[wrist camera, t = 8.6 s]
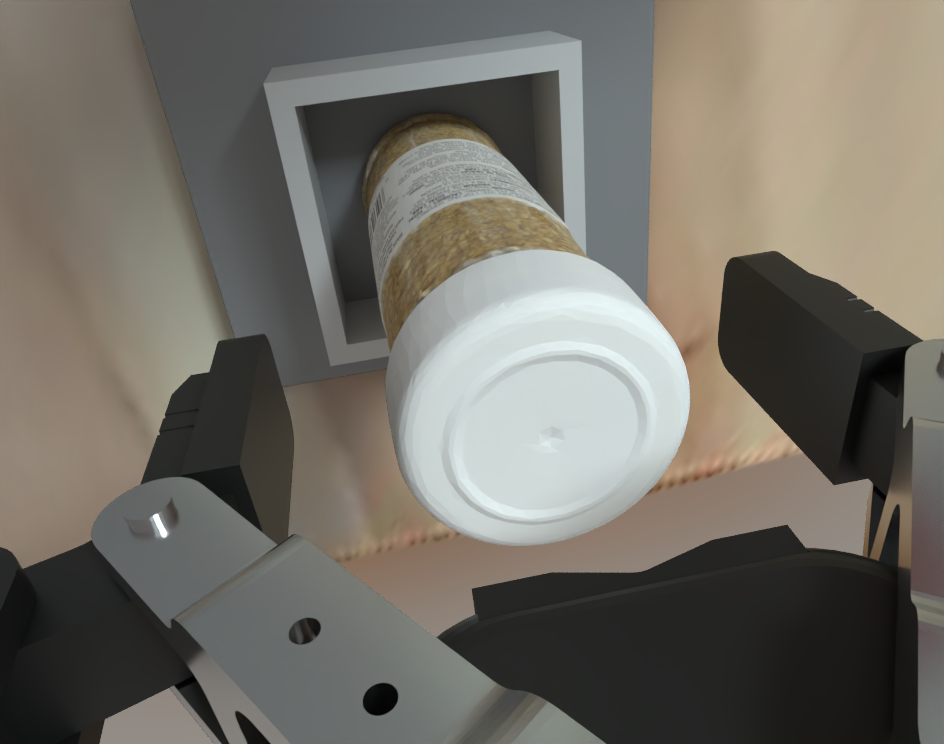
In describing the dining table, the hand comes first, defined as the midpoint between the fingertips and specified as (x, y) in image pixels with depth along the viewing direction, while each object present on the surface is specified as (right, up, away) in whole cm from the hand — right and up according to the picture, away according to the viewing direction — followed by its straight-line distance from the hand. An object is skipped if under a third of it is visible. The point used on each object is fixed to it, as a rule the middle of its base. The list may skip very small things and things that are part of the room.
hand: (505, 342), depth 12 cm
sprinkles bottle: (-2, +5, +9) cm, 11 cm away
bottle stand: (-2, +6, +10) cm, 12 cm away
